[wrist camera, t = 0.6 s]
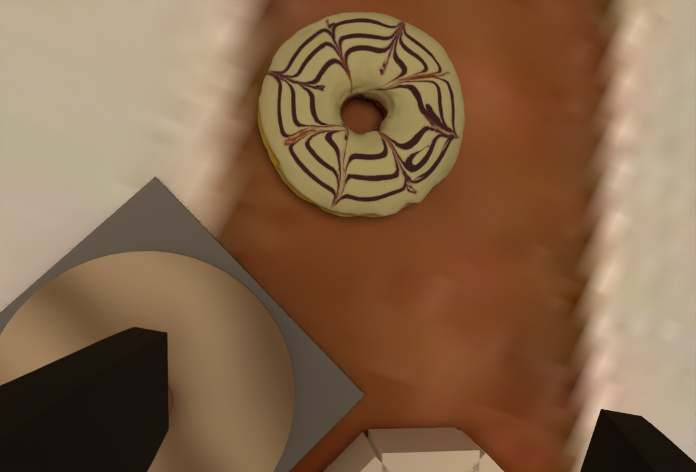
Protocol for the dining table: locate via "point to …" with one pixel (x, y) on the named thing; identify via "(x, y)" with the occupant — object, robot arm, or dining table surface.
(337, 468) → the bowl
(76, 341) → the lid
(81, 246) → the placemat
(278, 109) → the decorated donut
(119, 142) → the dining table surface
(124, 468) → the robot arm
